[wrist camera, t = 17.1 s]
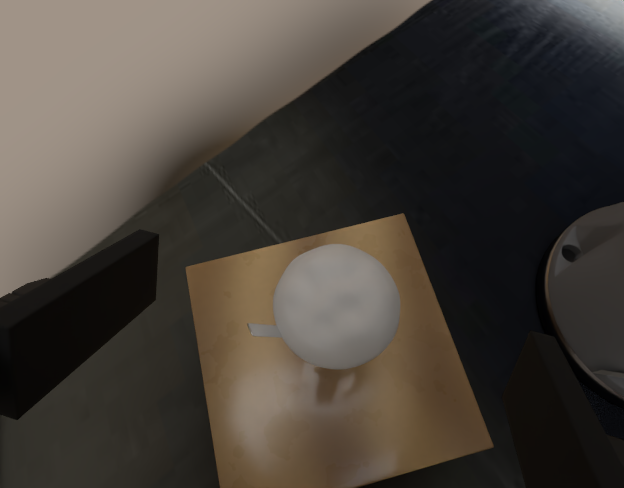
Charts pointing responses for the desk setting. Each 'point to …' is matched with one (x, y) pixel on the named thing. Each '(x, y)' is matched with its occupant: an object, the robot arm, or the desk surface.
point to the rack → (323, 390)
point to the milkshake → (334, 309)
